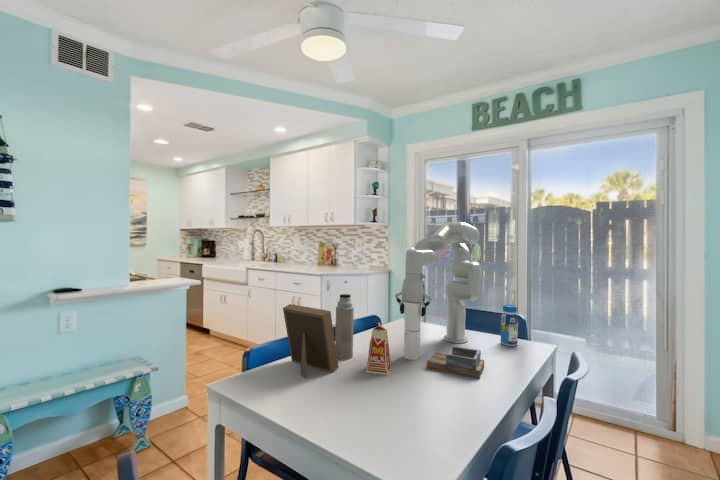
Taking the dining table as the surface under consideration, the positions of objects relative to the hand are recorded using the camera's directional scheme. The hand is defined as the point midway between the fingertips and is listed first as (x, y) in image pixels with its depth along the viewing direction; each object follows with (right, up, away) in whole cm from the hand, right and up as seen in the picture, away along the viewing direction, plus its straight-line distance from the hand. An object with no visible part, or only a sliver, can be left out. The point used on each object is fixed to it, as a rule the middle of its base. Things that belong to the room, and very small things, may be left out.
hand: (412, 314), depth 163 cm
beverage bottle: (+54, -20, +24) cm, 62 cm away
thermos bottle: (-31, -19, -1) cm, 36 cm away
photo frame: (-46, -19, -17) cm, 52 cm away
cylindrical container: (0, -20, 0) cm, 20 cm away
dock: (+16, -20, -12) cm, 28 cm away
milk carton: (-16, -19, -16) cm, 30 cm away
